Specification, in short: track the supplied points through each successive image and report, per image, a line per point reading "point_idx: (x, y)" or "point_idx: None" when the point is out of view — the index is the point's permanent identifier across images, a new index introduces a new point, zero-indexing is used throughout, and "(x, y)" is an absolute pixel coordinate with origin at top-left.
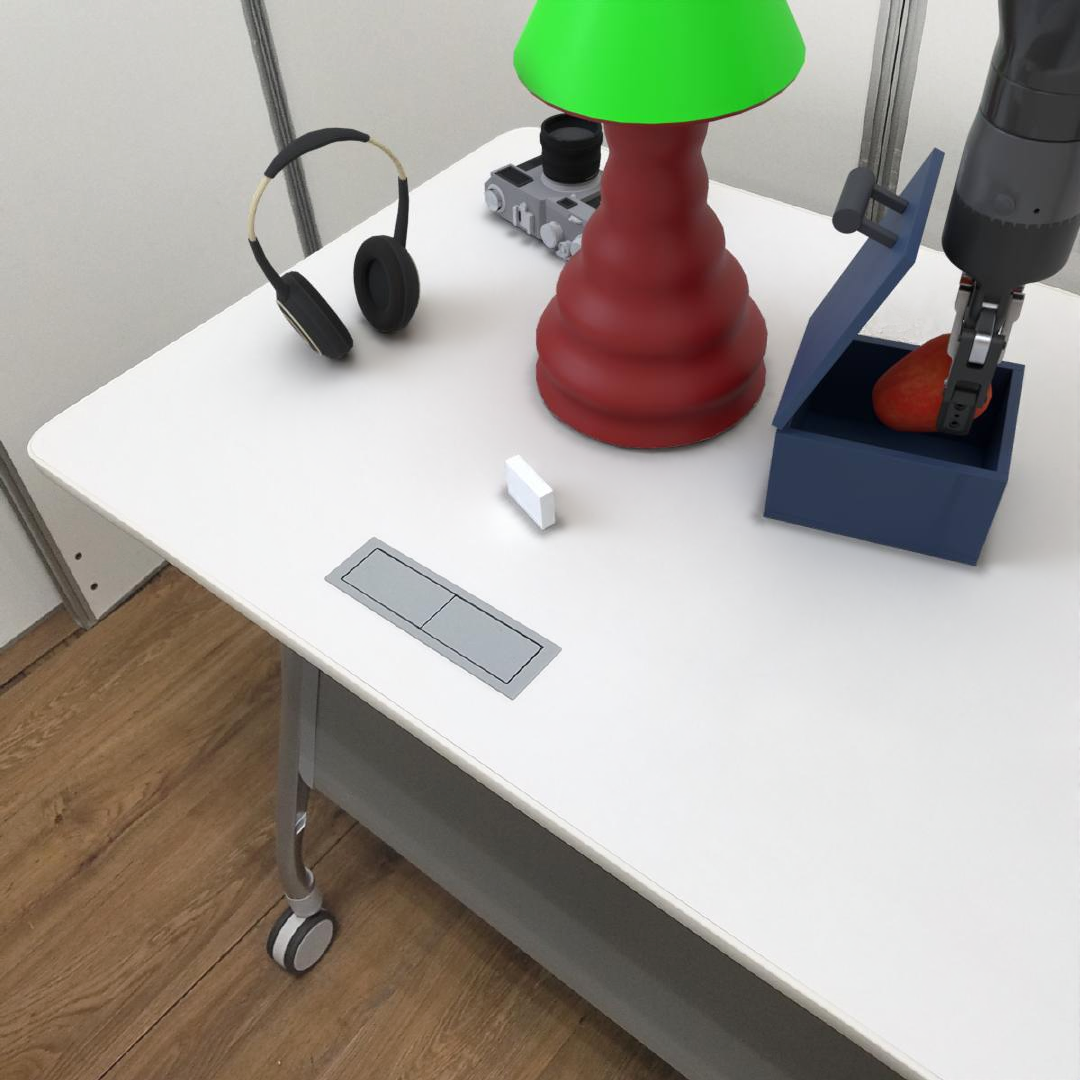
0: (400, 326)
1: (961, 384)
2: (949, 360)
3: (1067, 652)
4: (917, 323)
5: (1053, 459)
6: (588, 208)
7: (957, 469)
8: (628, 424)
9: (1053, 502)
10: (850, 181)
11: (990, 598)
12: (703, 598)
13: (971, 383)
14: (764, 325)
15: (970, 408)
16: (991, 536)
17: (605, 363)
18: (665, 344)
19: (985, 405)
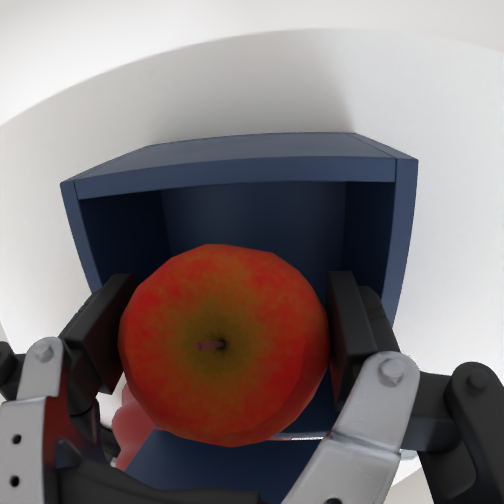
0: None
1: (438, 445)
2: (262, 429)
3: (435, 39)
4: (32, 262)
5: (134, 80)
6: (113, 466)
7: (403, 251)
8: (286, 438)
9: (207, 60)
10: None
11: (396, 113)
12: (432, 348)
13: (425, 429)
14: (143, 411)
15: (396, 344)
16: (298, 119)
17: None
18: None
19: (268, 263)
